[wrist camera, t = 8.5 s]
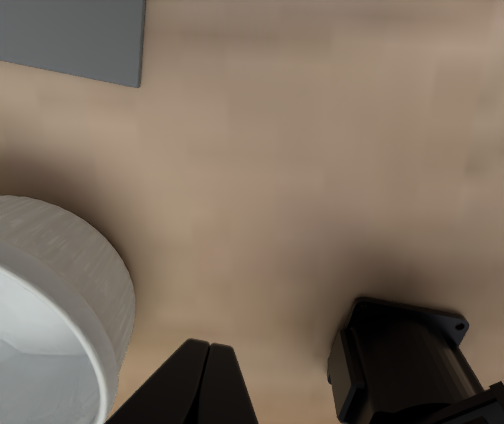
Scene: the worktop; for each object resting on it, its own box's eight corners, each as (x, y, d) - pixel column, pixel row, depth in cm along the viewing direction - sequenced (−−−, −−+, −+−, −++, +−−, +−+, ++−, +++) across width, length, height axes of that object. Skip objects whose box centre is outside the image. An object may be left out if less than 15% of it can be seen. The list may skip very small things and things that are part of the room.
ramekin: (-57, 344, 25) (-169, 448, 19) (-93, 149, 20) (-268, 202, 13) (145, 381, 25) (103, 495, 19) (165, 201, 20) (115, 276, 14)
